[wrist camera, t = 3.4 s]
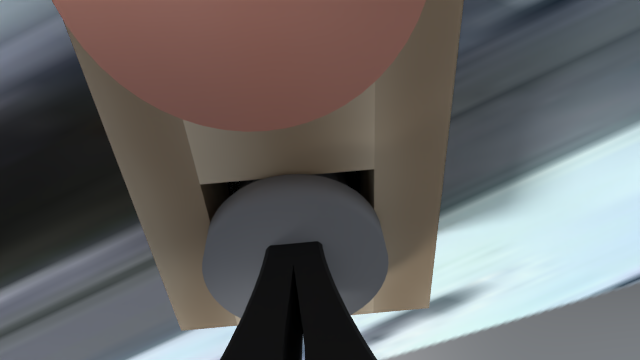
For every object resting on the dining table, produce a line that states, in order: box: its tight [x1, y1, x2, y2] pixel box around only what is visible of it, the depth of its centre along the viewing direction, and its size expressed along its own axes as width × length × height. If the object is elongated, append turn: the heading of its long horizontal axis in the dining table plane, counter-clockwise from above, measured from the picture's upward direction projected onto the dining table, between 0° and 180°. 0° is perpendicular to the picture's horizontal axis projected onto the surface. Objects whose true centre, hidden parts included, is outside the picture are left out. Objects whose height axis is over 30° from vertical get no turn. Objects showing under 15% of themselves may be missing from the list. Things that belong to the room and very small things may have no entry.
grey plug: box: [202, 172, 389, 318], centre depth 14 cm, size 5×5×4 cm
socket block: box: [63, 0, 464, 330], centre depth 12 cm, size 8×15×3 cm, turn 3°
